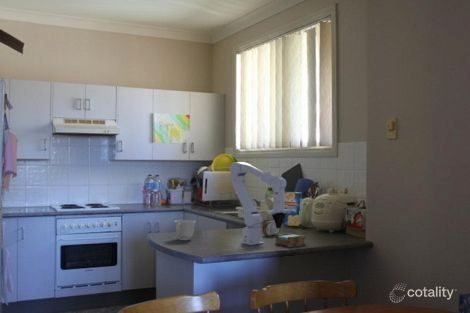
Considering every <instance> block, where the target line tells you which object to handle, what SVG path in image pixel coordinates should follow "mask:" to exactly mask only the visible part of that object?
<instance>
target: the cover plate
mask: <svg viewBox="0 0 470 313" xmlns="http://www.w3.org/2000/svg"><path fill="white" fill-rule="evenodd" d="M293 236H300V235H299V234H298V235H297V234H294V233H292V234H291V235H283V236H278V238H279V239H284V240H288V237H293Z"/></svg>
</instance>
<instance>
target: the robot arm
mask: <svg viewBox="0 0 470 313" xmlns="http://www.w3.org/2000/svg"><path fill="white" fill-rule="evenodd" d="M228 171H229V173H230V183H231V184H232V187H233V189H234V192H235V193H236V195H237V197H238V200H239V202H240V204H241V206H242V208H243V209H242V210H243V211H244V212H243V213H242V214H243V218H244V220H243V221H244V223H245V225H246V227H243V228H242V231H241V242H240V243H241V244H245V245H248V246H253V245H260V244H264V241H261V231H262V230H261V228H262V227H261V226H262V223H263V222H264V217H263V215H262V213H261V212H260V211H259V210H258V208H256V207H255V206H254V204H253V202H252V199H251V198H250V196H249V193H248V191H247V189H246V186H245V185H244V183H243V179H244V178H245V176H246V175H247V173H249V174H252V175H254V176H256V177H259V178H260V180H261V181H262V183H265V184H267V185H269V186H271V187H272V191H273V193H272V195H273V196H272V197H273V198H272V199H273V202H272V206H273V207H272V209H270V210H269V209H268V210H266V214H267V215H270V216H271V217H272V218H273V220H274V221H275V224H276V228H280V229H281V228H282V224H283V223H284V217H285V214H284V213H290V209H284V201H285V192H286V190H285V188H286V187H287V184H288V183H287V180H286V179H285V178H284V177H282V176H281V177H279V175H277V174H276V175H275V174H274V173H272V171H270V170H266V171H262V170H261V169H259V168H257V167H255V166H253V165H252V164H251V163H247V162H245V161H241V162H239V161H238V162H237V161H234V162H231V164H230V165H229V168H228Z"/></svg>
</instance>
